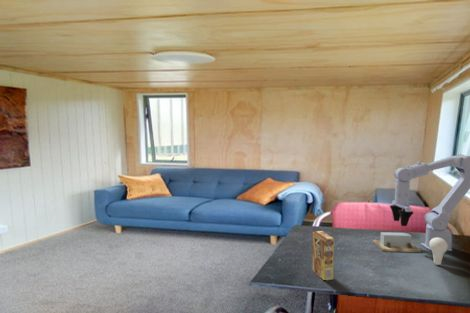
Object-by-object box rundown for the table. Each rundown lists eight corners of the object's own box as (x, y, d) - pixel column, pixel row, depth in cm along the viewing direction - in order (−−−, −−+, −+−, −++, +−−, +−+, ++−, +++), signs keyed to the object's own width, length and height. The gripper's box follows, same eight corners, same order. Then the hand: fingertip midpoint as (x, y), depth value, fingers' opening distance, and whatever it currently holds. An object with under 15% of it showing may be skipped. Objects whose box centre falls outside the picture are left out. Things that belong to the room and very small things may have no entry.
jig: (407, 242, 148) (407, 236, 148) (420, 252, 136) (420, 246, 136) (372, 241, 150) (373, 236, 149) (382, 251, 138) (382, 245, 138)
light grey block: (407, 243, 145) (407, 232, 144) (411, 246, 141) (411, 235, 140) (380, 242, 145) (380, 232, 145) (383, 245, 141) (383, 235, 141)
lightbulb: (447, 264, 124) (449, 237, 123) (445, 269, 119) (446, 241, 118) (430, 260, 128) (431, 234, 127) (426, 265, 123) (427, 238, 123)
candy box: (334, 280, 112) (334, 238, 110) (323, 281, 111) (323, 239, 109) (321, 269, 120) (322, 230, 119) (311, 270, 119) (312, 231, 118)
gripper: (386, 190, 150) (384, 218, 152) (399, 197, 136) (398, 227, 137) (401, 191, 150) (399, 219, 151) (416, 197, 135) (414, 228, 137)
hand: (400, 223), depth 144 cm, fingers open, 7 cm apart
